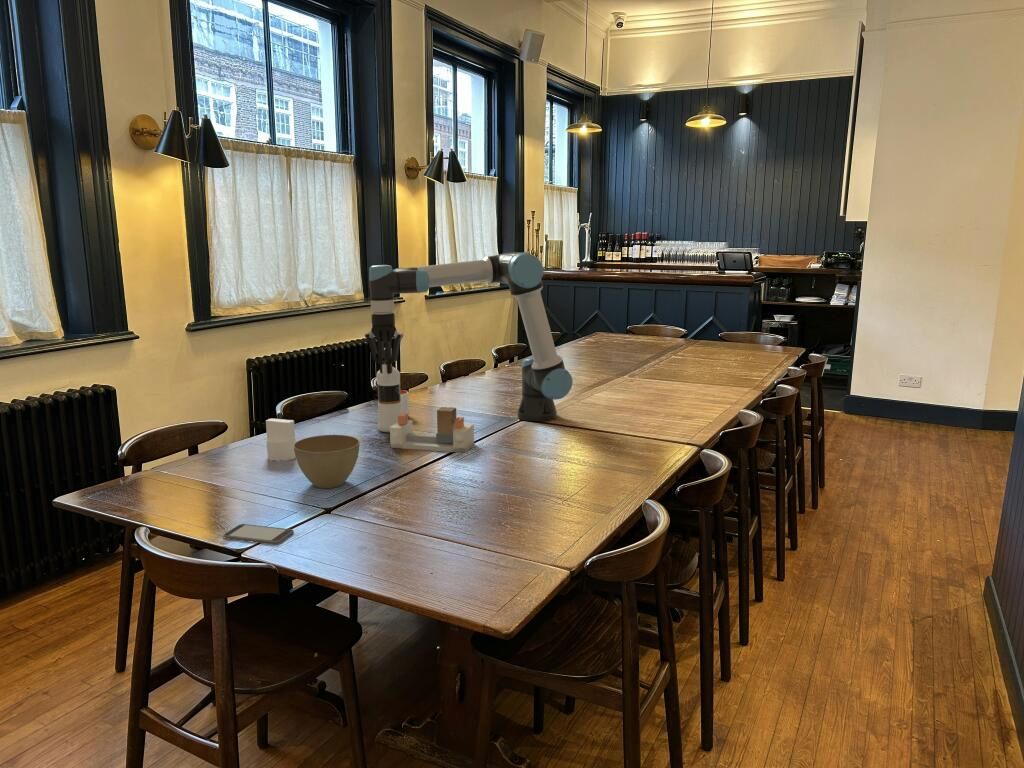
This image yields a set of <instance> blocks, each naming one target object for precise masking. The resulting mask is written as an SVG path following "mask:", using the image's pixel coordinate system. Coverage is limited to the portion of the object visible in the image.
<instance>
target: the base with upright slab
mask: <svg viewBox="0 0 1024 768" xmlns="http://www.w3.org/2000/svg"><path fill="white" fill-rule="evenodd" d="M265 428H266V450H267V451H266V452H267V459H268V460H269V459H270V460H269V461H272V460H276V461H275V462H281V461H280V460H285V461H290V460H293V459H296V456H295V452H294V444H295V443H296V442H297V439H296V429H295V420H293V419H284V418H283V419H282V418H268V419H266V420H265ZM289 459H290V460H289Z"/></svg>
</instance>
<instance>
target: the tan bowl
mask: <svg viewBox="0 0 1024 768" xmlns="http://www.w3.org/2000/svg"><path fill="white" fill-rule="evenodd" d="M360 444H361V443H360V440H359V439H358V438H357V437H354V436H352V435H346V434H345V435H344V434H322V435H321V434H320V435H314V436H308V437H305V438H302V439H300V440H298V441H297V440H296V443H295V444H294V452H295V456H296V457H295V459H296V462H297V465H298V467H299V469H300V471H301V473H303V475H304V476H305V478H306V479H307V480H308V481H309V482H310V483H311V485H312V486H314V487H316V488H319V489H331V488H337V487H340V486H342V485H343V484H344V483H345V482H346V481H347V480H348V478H349V477H350V476H351V474H352V472H353V470H354V468H355V466H356V464H357V461H358V457H359V453H360V452H359V451H360Z"/></svg>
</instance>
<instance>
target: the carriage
mask: <svg viewBox="0 0 1024 768" xmlns="http://www.w3.org/2000/svg"><path fill="white" fill-rule="evenodd" d="M455 419H457V407H450V406H449V407H448V406H441V407H439V408H438V409H436V422H437V423H436V425H437V426H436V429H437V430H436V431H437V432H436V434H435V435H436V442H440V443H453V431H454V430H455Z"/></svg>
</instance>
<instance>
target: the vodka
mask: <svg viewBox="0 0 1024 768" xmlns="http://www.w3.org/2000/svg"><path fill="white" fill-rule="evenodd" d="M384 350H385V347H384ZM385 361H386V353H385ZM385 363H386V362H385ZM376 380H377V381H376V384H377V399H378V402H377V405H378V407H377V409H378V416H377V417H378V420H377V430H378V431H380V432H381V433H389V434H390V427H391V426H393V425H394V424H396V423H397V422H398V415H400V414H401V402H400V401H401V396H400V390H401V373H400V371H399V370H398V368H395V367H394V366H392V373H391V374H390V383H388V384H383V374H382V373H380V369H379V370H378V371H377V372H376Z"/></svg>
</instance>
